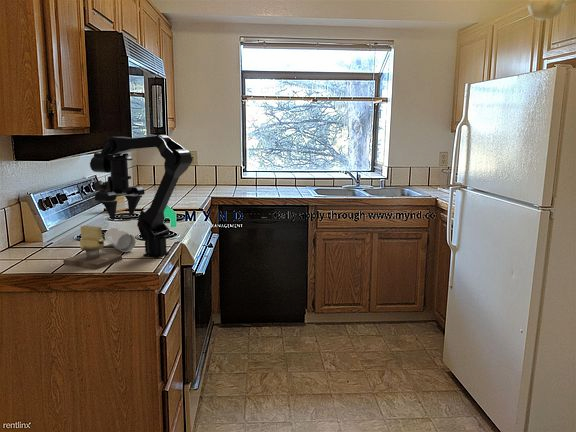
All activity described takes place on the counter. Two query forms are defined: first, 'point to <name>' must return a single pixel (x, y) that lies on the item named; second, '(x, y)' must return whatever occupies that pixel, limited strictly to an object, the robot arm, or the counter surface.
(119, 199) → the supplement box
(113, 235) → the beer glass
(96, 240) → the cap
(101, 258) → the base
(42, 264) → the counter surface
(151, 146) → the robot arm
